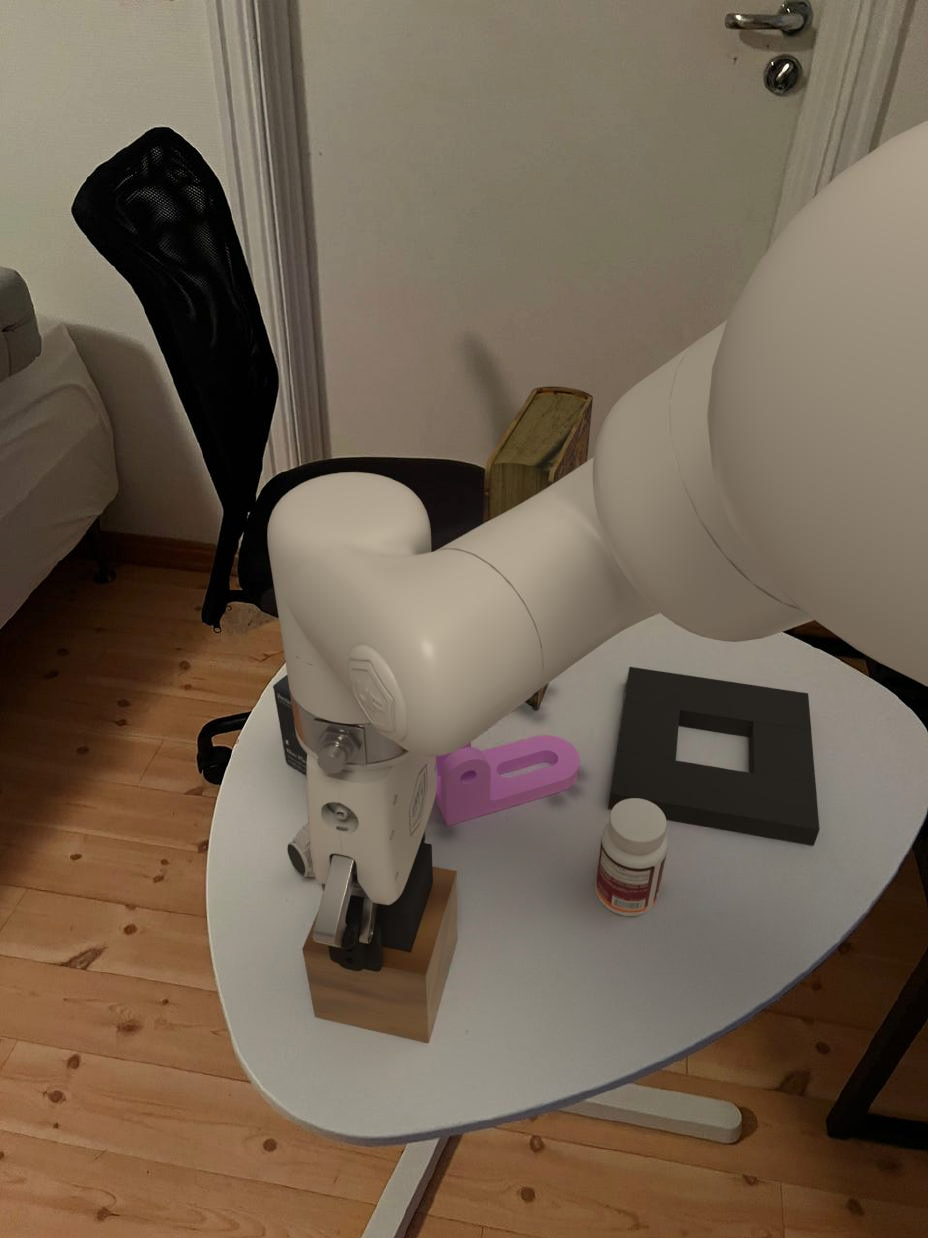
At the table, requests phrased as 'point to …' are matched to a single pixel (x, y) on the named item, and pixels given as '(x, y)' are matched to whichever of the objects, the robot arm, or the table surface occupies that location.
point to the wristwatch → (301, 852)
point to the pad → (403, 904)
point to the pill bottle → (632, 857)
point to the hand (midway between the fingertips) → (380, 898)
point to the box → (289, 727)
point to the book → (538, 454)
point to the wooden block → (392, 974)
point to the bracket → (479, 788)
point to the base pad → (713, 796)
